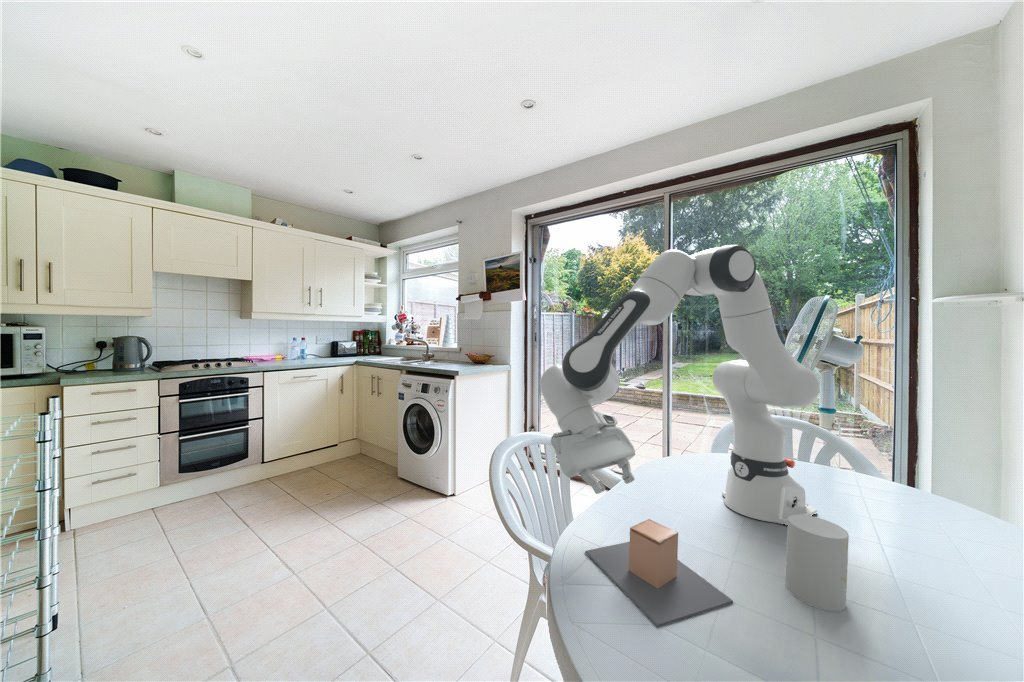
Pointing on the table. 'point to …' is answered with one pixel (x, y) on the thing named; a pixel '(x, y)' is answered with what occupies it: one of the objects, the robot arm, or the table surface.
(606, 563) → the mat
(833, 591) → the white oval cylinder
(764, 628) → the table surface
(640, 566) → the light orange rectangular block
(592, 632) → the table surface
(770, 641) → the table surface
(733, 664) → the table surface
